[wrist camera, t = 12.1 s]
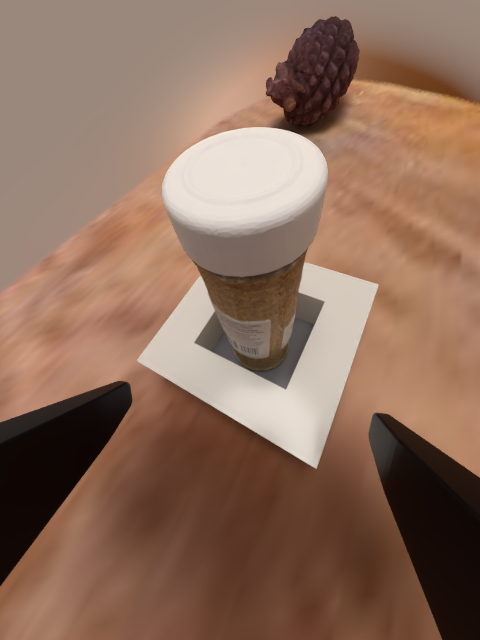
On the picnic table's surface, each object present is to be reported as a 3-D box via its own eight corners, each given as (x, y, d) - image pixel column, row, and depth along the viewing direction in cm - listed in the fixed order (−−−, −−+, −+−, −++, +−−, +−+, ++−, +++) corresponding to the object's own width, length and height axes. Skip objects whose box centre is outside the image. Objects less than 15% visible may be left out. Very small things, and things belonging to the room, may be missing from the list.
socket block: (355, 316, 19) (378, 284, 15) (303, 460, 15) (316, 469, 11) (235, 272, 23) (228, 238, 19) (165, 377, 18) (136, 360, 14)
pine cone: (324, 92, 40) (339, -5, 31) (373, 104, 36) (407, -3, 27) (252, 133, 36) (247, 35, 27) (298, 153, 32) (310, 44, 23)
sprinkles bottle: (301, 346, 17) (374, 154, 5) (256, 385, 16) (222, 258, 4) (262, 309, 19) (251, 105, 7) (220, 341, 18) (127, 169, 6)
